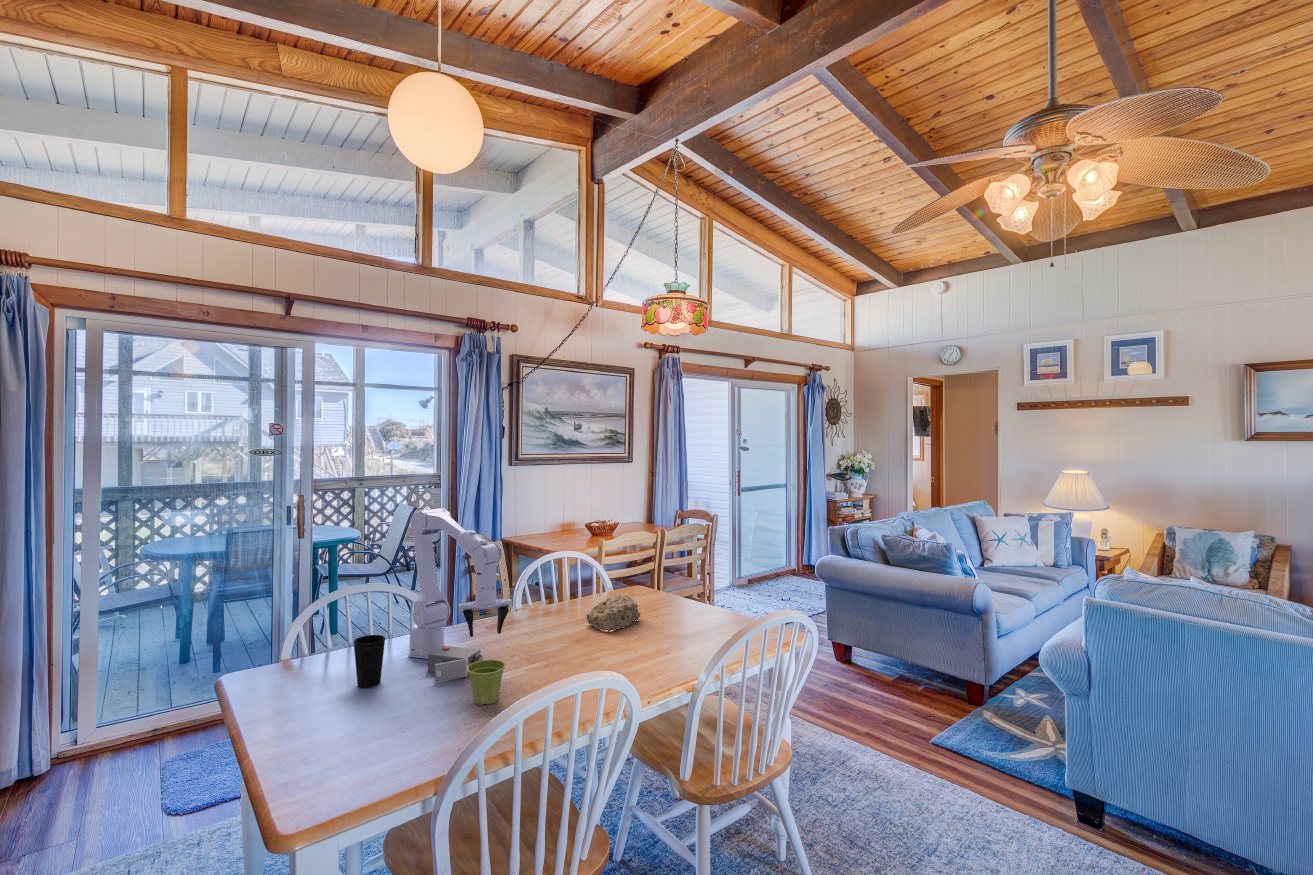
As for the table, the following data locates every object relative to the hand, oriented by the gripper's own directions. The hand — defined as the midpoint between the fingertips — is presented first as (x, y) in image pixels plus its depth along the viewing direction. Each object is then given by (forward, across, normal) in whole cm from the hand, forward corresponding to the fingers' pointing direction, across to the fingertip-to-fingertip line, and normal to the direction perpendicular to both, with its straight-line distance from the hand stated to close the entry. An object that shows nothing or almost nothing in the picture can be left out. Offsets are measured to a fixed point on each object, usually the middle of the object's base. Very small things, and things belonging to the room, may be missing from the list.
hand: (485, 634), depth 177 cm
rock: (+10, +49, +28) cm, 57 cm away
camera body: (+10, -8, +4) cm, 13 cm away
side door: (+10, -9, -5) cm, 14 cm away
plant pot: (+10, -3, -21) cm, 23 cm away
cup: (+10, -30, +1) cm, 32 cm away
